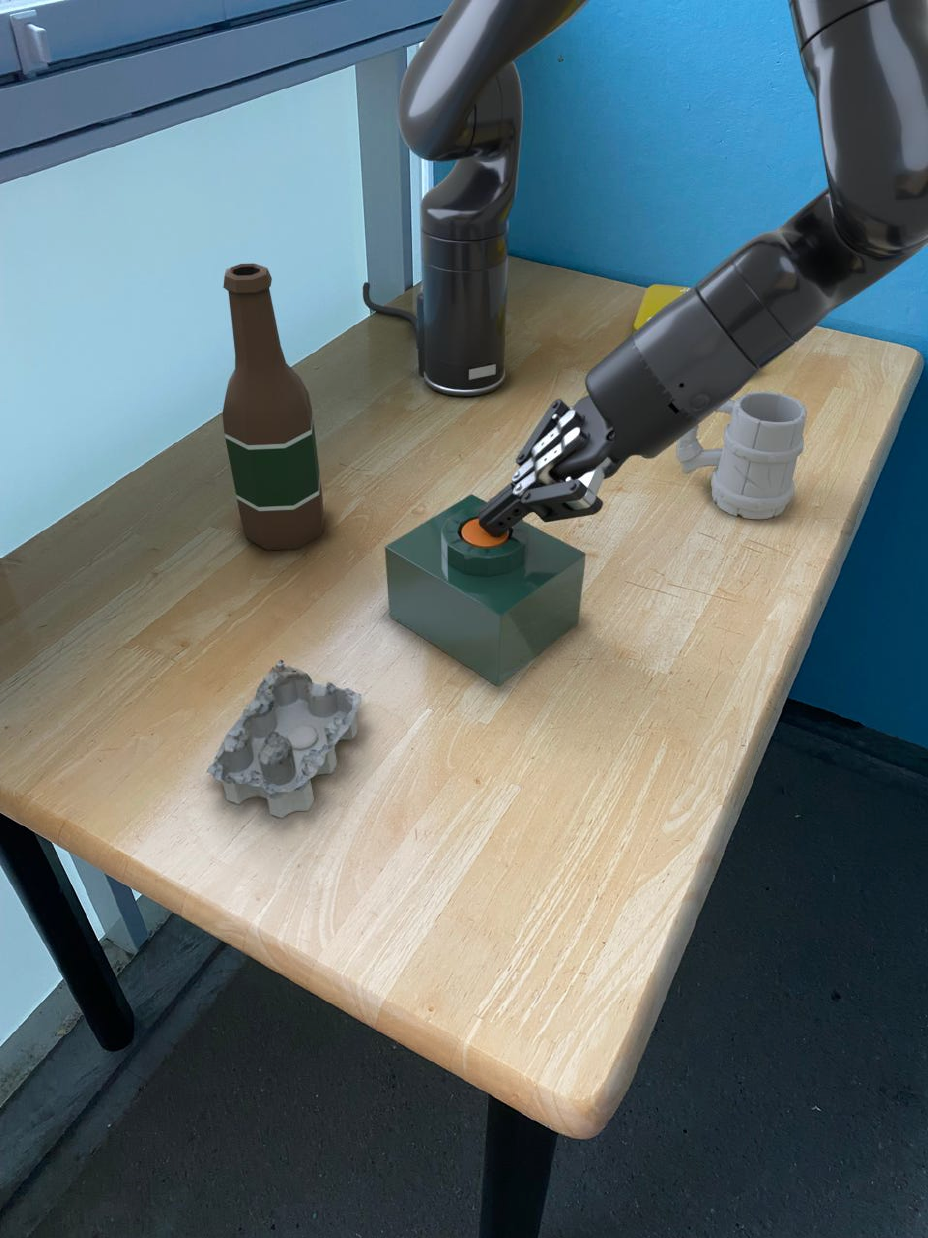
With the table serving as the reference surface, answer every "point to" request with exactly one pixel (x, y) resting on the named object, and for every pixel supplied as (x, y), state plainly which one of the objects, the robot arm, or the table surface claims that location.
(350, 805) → the table surface
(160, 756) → the table surface
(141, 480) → the table surface
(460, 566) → the green button block
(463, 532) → the orange button
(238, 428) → the beer bottle
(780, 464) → the mug
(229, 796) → the egg carton
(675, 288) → the element tile
